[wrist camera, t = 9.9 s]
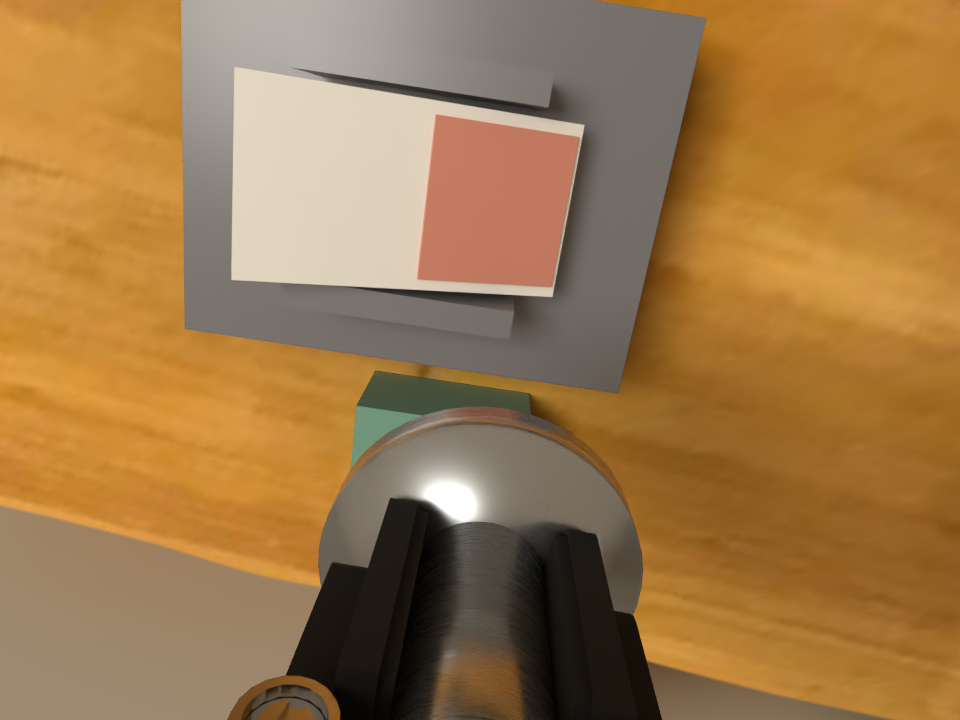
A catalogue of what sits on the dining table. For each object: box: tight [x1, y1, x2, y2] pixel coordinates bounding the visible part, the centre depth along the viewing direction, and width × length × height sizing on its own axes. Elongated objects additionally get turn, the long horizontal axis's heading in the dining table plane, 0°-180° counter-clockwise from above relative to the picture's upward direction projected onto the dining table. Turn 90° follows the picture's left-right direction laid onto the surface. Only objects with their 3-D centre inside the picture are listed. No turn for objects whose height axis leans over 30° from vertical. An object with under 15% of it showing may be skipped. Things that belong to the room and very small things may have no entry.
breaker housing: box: [181, 0, 706, 393], centre depth 25 cm, size 18×14×10 cm
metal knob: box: [318, 407, 643, 720], centre depth 11 cm, size 6×6×12 cm
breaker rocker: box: [231, 67, 585, 297], centre depth 21 cm, size 11×6×2 cm, turn 81°
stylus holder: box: [351, 371, 531, 468], centre depth 32 cm, size 8×8×4 cm
